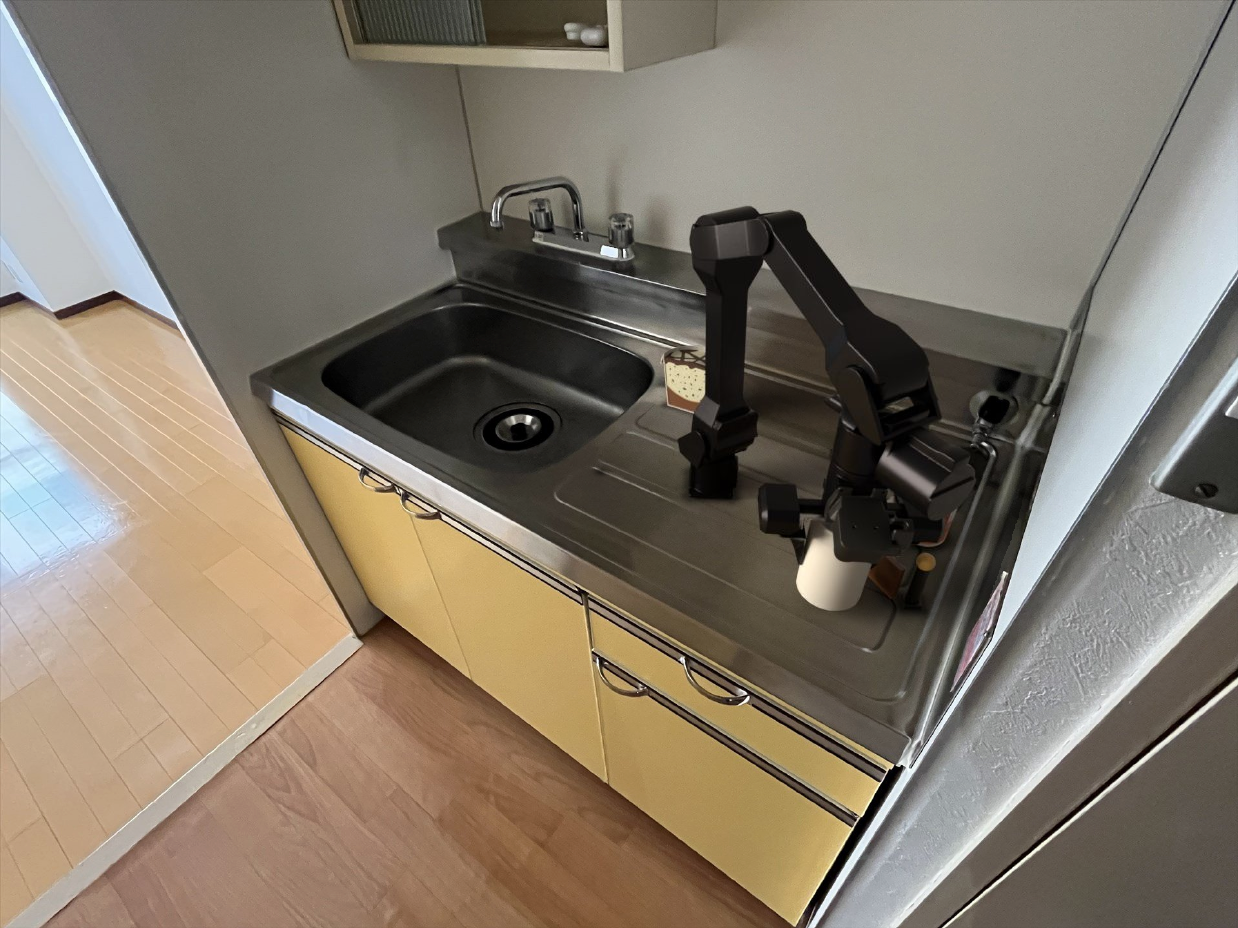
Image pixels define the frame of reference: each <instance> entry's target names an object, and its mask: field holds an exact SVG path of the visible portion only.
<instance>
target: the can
mask: <svg viewBox="0 0 1238 928" xmlns="http://www.w3.org/2000/svg"><path fill="white" fill-rule="evenodd" d="M870 567H871V564H870V563H864V562H841V561H839V560H838V559H837V558H836V557H835V555H834V544H833V532H832V523H826V522H825V520H810V522H809V526H808V529H807V534H806V539H805V543H804V560H803V563H802V565H799V567H798V570H797V576H796V579H795V583H796V587H797V590H798V592H799V594H800V595H801V597H802V598H803V599H805V600H806V601H807V602H808V603H809V604H811V605H813V606H814V607H817V608H819V609H822V610H825V611H830V612H842V611H846V610H849V609H851V608H852V607H854V606H856V605H857V604H858V602H859V600H860V599H861V596H862V594H863V590H864V587H865V584H866V581H867V579H868V577H869V576H868V573H869V570H870Z"/></svg>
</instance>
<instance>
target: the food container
mask: <svg viewBox="0 0 1238 928" xmlns="http://www.w3.org/2000/svg"><path fill="white" fill-rule="evenodd" d="M660 364H663V371H664V382H665V383H664V384H665V393H666V403H667V404H666V405H667V406H669V407H671V408H675V409H678V410H681V411H684V412H687V413H691V414H693V413H694V411H695V410H696V408H697V406H698V405H699V403H700V401H701V400H702V398H703V397H704V395H705V346H704V345H695V344H694V345H693V344H692V345H691V344H689V345H681V346H676V347H673V348H670V349H668V350H666V351H665V352H663V353H662V356H661V358H660Z"/></svg>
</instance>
